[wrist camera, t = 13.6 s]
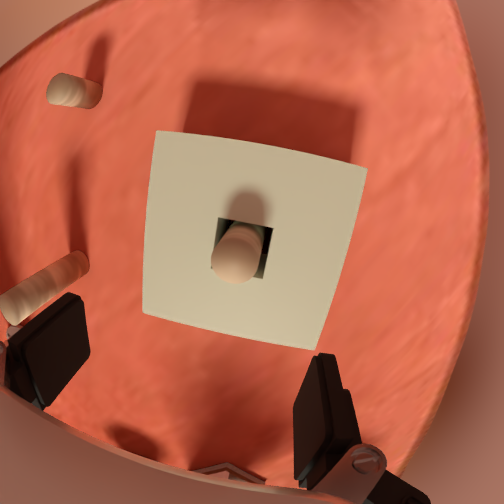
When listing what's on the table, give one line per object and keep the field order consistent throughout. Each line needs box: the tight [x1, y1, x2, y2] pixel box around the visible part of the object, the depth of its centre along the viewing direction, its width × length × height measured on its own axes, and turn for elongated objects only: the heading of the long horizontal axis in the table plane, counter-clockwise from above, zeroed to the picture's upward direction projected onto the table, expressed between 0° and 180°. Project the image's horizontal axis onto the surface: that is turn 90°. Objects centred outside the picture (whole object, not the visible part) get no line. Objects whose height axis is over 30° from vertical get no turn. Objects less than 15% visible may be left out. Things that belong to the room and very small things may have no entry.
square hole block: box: [143, 130, 368, 350], centre depth 25 cm, size 16×16×6 cm
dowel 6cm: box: [46, 73, 102, 109], centre depth 22 cm, size 3×3×6 cm
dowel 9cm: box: [211, 220, 266, 284], centre depth 24 cm, size 3×3×9 cm
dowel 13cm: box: [0, 250, 89, 326], centre depth 25 cm, size 3×3×13 cm
